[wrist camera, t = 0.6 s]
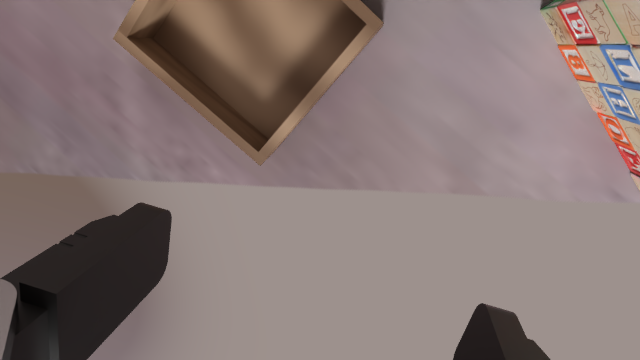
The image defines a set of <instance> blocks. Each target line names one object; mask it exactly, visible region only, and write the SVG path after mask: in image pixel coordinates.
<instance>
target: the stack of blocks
mask: <svg viewBox="0 0 640 360" xmlns="http://www.w3.org/2000/svg"><path fill="white" fill-rule="evenodd" d="M540 12H541V14H542V16H543V18H544V20H545V21H546V23H547V25H548V27H549V29H550V30H551V32H552V34H553V36H554V38H555V40H556V41H557V43H558V48H559V49H560V51H561V53H562V55H563V57H564V58H565V60H566V62H567V64H568V66H569V67H570V69H571V71H572V73H573V75H574V77H575V78H576V79H577V82H578V84H579V86H580V88H581V90H582V91H583V93H584V95H585V97H586V98H587V100H588V102H589V104H590V105H591V107H592V109H593V110H594V111H596V112H597V114H598V117H599V118H600V120H601V121H602V123H603V125H604V127H605V129H606V130H607V132H608V134H609V136H610V137H611V139H612V141H614V142H615V145H616V146H617V148H618V150H619V152H620V154H621V156H622V157H623V159H624V160H625V163H626V164H627V166H628V168H629V169H630V171H631V173H630V175H631V176H632V178H633V180H634V182H635V183H636V185H637V187H638V189H639V191H640V0H554V1H553V2H551V3H550V4H548V5H547V6H545V7H544V8H542V9H541V10H540Z"/></svg>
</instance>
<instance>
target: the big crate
mask: <svg viewBox="0 0 640 360" xmlns="http://www.w3.org/2000/svg"><path fill="white" fill-rule="evenodd" d="M382 26H383V22H382V21H381V20H380V19H379V18H378V17H377V16H376V15H375V14H374V13H373V12H372V11H371V10H370V9H369V8H368V7H367V6H366V5H365V4H364V3H362V2H361V1H360V0H135V2H134V3H133V5H132V7H131V9H130V10H129V12H128V14H127V15H126V17H125V19H124V21H123V22H122V24H121V26H120V27H119V29H118V31H117V33H116V34H115V36H114V38H113V39H114V40H115V41H116V42H117V43H119V44H120V45H121V46H122V47H123V48H124V49H125V50H127V51H128V52H129V53H130V54H131V55H132V56H134V57H135V58H136V59H137V60H138V61H139V62H141V63H142V64H143V65H144V66H145V67H146V68H147V69H149V70H150V71H151V72H152V73H153V74H154V75H156V76H157V77H158V78H159V79H160V80H161V81H163V82H164V83H165V84H166V85H167V86H168V87H169V88H171V89H172V90H173V91H174V92H175V93H176V94H178V95H179V96H180V97H181V98H182V99H183V100H184V101H186V102H187V103H188V104H189V105H190V106H191V107H193V108H194V109H195V110H196V111H197V112H198V113H200V114H201V115H202V116H203V117H204V118H205V119H206V120H208V121H209V122H210V123H211V124H212V125H213V126H215V127H216V128H217V129H218V130H219V131H220V132H222V133H223V134H224V135H225V136H226V137H227V138H228V139H230V140H231V141H232V142H233V143H234V144H235V145H237V146H238V147H239V148H240V149H241V150H242V151H244V152H245V153H246V154H247V155H248V156H249V157H250V158H252V159H253V160H254V161H255V162H256V163H257V164H259V165H260V166H261V165H262V164H263V162H264V161H265V160H266V159H267V158H268V157H269V156H270V155H271V154H272V153H273V152H274V151H275V150H276V149H277V148H278V147H279V146H280V144H281V143H282V142H283V141H284V140H285V139H286V137H287V136H288V135H289V134H290V133H291V132H292V131H293V129H294V128H295V127H296V126H297V125H298V124H299V122H300V121H301V120H302V119H303V118H304V117H305V115H306V114H307V113H308V112H309V111H310V110H311V109H312V107H313V106H314V105H315V104H316V103H317V102H318V100H319V99H320V98H321V97H322V96H323V95H324V93H325V92H326V91H327V90H328V89H329V88H330V87H331V85H332V84H333V83H334V82H335V81H336V80H337V78H338V77H339V76H340V75H341V74H342V73H343V72H344V70H345V69H346V68H347V67H348V66H349V65H350V63H351V62H352V61H353V60H354V59H355V58H356V56H357V55H358V54H359V53H360V52H361V51H362V50H363V48H364V47H365V46H366V45H367V44H368V43H369V41H370V40H371V39H372V38H373V37H374V36H375V34H376V33H377V32H378V31H379V30H380V29H381V28H382Z"/></svg>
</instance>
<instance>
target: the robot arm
mask: <svg viewBox="0 0 640 360" xmlns="http://www.w3.org/2000/svg"><path fill="white" fill-rule="evenodd" d="M171 218H172V217H171V213H170V211H168V210H165V209H162V208H158V207H155V206H152V205H148V204H145V203H138V204H136V205H134V206H133V207H132V208H130V209H128V210H127V211H125V212H124V213H122V214H121V215H119V216H116V215H112V216H108V217H105V218H102V219H99V220H95V221H92V222H90V223H89V224H87V225H86V226H84V227H82V228H81V229H79V230H77V231H76V232H75V233H74V235H70V236H68V237H66V238H65V239H63V240H61V241H60V243H59V244H55V245H53V246H52V247H50V248H49V249H47V250H45V251H44V252H42V253H41V254H39V255H37V256H36V257H34V258H33V259H31V260H29V261H28V262H26V263H25V264H23V265H21V266H20V267H18V268H17V269H15V270H13V271H12V272H10V273H9V274H7V275H5V276H4V277H2V278H0V360H87V359H88V358H89V357H90V356H91V355H92V354H93V352H94V351H95V350H96V349H97V348H98V347H99V346H100V345H101V344H102V343H103V342H104V340H106V339H107V337H108V336H109V335H110V334H111V333H112V332H113V331H114V330H115V329H116V328H117V327H118V326H119V325H120V324H121V322H123V320H124V319H125V318H126V317H127V316H128V315H129V314H130V313H131V312H132V311H133V310H134V309H135V308H136V307H137V305H138V304H139V303H140V302H141V301H142V300H143V299H144V298H145V297H146V296H147V295H148V294H149V293H150V291H151V290H152V289H153V288H154V287H155V286H156V285H157V284H158V283H159V281H160V279H161V278H162V276H163V274H164V272H165V269H166V266H167V262H168V252H169V242H170V231H171ZM453 360H550V359H549V357H548V356H547V355H546V354H545V353H544V352H543V351H542V350H541V348H540V347H539V346H538V345H537V344H536V343H535V342H534V341H533V340H530V339H527V337H526V335H525V333H524V331H523V329H522V326H521V324H520V322H519V320H518V318H517V316H516V315H515V313H513V312H510V311H507V310H503V309H500V308H497V307H493V306H490V305H486V304H483V303H482V304H479V305H478V306H477V307H476V309H475V311H474V313H473V315H472V317H471V319H470V321H469V323H468V325H467V327H466V329H465V332H464V334H463V336H462V338H461V340H460V342H459V344H458V346H457V348H456V351H455V354H454V358H453Z"/></svg>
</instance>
